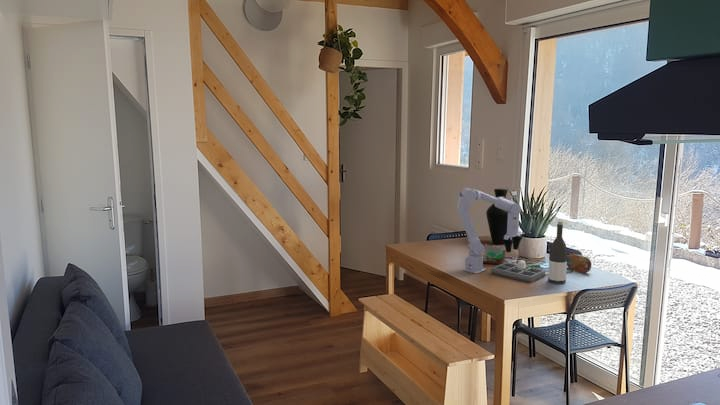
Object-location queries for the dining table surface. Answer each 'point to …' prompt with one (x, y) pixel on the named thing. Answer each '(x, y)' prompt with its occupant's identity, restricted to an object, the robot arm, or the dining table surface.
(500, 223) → the vase
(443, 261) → the dining table surface
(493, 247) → the food container
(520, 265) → the egg
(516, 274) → the grey compartment tray
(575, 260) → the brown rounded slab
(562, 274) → the wine bottle
